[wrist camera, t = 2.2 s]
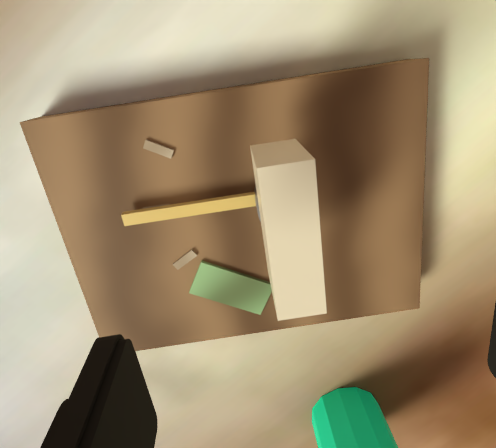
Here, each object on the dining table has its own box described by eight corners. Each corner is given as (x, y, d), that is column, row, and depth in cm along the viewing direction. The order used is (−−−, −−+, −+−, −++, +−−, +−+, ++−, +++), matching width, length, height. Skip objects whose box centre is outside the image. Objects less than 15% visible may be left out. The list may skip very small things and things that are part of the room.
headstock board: (408, 59, 22) (432, 58, 20) (403, 288, 28) (421, 310, 26) (41, 116, 22) (16, 123, 20) (115, 332, 29) (104, 358, 26)
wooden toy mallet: (288, 129, 21) (317, 158, 14) (300, 243, 23) (329, 313, 17) (109, 157, 21) (53, 199, 14) (141, 267, 23) (107, 346, 17)
